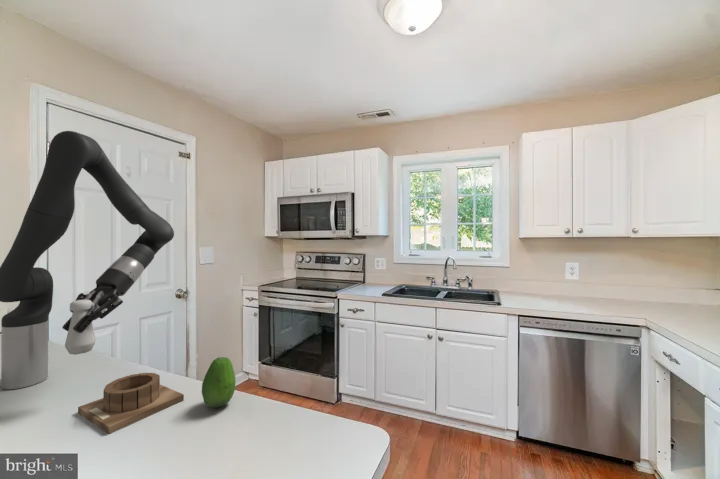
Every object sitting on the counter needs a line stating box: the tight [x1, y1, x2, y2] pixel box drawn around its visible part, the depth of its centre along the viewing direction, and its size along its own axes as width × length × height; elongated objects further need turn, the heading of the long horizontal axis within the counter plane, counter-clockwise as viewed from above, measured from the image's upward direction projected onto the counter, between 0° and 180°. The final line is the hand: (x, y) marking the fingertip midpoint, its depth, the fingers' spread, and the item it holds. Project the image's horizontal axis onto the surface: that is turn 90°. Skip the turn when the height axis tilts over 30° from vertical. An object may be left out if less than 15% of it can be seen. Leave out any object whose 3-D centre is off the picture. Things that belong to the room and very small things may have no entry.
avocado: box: [201, 356, 236, 409], centre depth 77 cm, size 8×8×12 cm
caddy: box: [77, 372, 185, 435], centre depth 76 cm, size 16×16×6 cm
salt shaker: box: [64, 300, 97, 355], centre depth 78 cm, size 6×6×13 cm
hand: (71, 330), depth 76 cm, fingers closed on salt shaker, 3 cm apart
